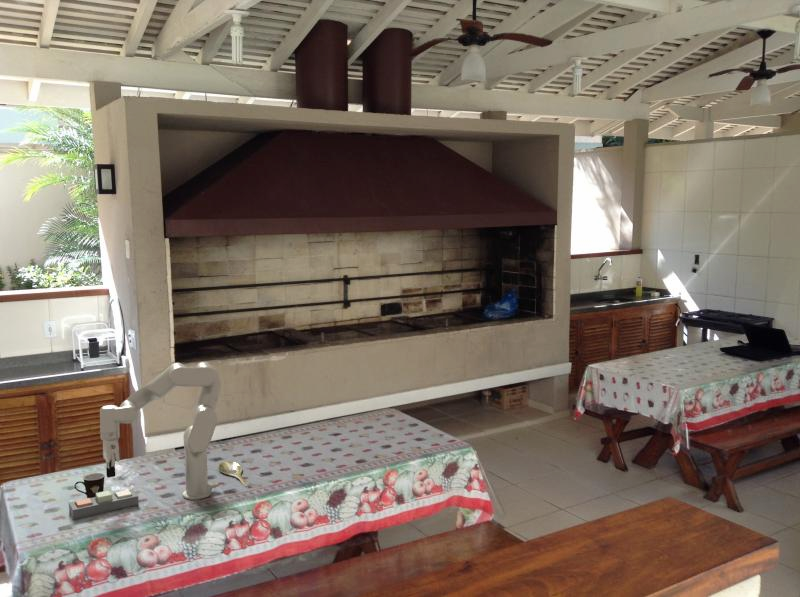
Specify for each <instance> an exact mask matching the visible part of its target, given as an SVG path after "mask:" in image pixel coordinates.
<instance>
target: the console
mask: <svg viewBox="0 0 800 597" xmlns="http://www.w3.org/2000/svg"><path fill="white" fill-rule="evenodd" d="M128 490H129V491H130V493H131V494H132V496H130V497H125V498H120V499H117V497H116V495H115V493H116V492H114V493H113V492H112V493H111V494H112V500H111V501H107V502H102V503H97V501H96V497H93V498H90V500H91V502H92V505H88V506H83V507H79V508H77V507H76V502H75V501H76V500H75V501H70V502H68V511H69V515H70V517H71V519H72V520H73V521H77V520H78V521H79V520H82V519H86V518H87V519H88V518H91V517H95V516H100V515H104V514H108V513H114V512H118V511H122V510H126V509H131V508H135V507H136V508H137V507H139V505H140V502H139V495H138V494H137V493H136V491H135V490H134V488H132V489H131V488H130V489H128Z"/></svg>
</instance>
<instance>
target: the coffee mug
mask: <svg viewBox="0 0 800 597" xmlns="http://www.w3.org/2000/svg"><path fill="white" fill-rule="evenodd" d="M77 484H82V485H83V487H84V488H85V491H83V490H79V489H78V488H77ZM104 486H105V473H102V472H101V473H100V472H94V473H89V474H86V475H85V476H84V477H83V481H81V480H80V481H76V482H75V484H74V489H75V490H76V491H77V492H79V493H82V494H84V495H85V496H86V499H87V498H93V497H96V493H99V492H104V491H105V490H104V488H105V487H104Z"/></svg>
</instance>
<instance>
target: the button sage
mask: <svg viewBox="0 0 800 597" xmlns="http://www.w3.org/2000/svg"><path fill="white" fill-rule="evenodd" d="M111 500H112V493H111V491H110V490H103V492H99V493H96V501H97V503H102V502H107V501H111Z"/></svg>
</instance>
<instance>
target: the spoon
mask: <svg viewBox="0 0 800 597" xmlns="http://www.w3.org/2000/svg"><path fill="white" fill-rule="evenodd" d="M217 466H218V468H217V469H218V470H219V472H221V473H223V474H225V475H228V476H231V477H235V478H237V479H238V480H239V481H240V483H241V484H242V485H243V484H245V483H246V482H248V481H247V480H246V479H245V478H243V476H242V472H243V467H242V466H241V465H240V464H239V463H237V462H235V461H231V460H230V461H228V460H227V461H222V462H220V463H219V464H218V465H217ZM231 469H232V470H231ZM228 470H229V471H233V470H236V471H237V472H236V473H235V472H234V473H231V472H229V471H228ZM227 471H228V472H227Z"/></svg>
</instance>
